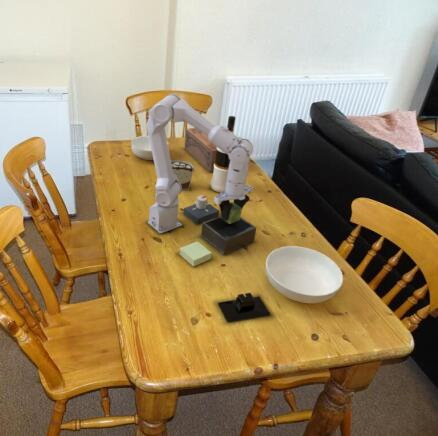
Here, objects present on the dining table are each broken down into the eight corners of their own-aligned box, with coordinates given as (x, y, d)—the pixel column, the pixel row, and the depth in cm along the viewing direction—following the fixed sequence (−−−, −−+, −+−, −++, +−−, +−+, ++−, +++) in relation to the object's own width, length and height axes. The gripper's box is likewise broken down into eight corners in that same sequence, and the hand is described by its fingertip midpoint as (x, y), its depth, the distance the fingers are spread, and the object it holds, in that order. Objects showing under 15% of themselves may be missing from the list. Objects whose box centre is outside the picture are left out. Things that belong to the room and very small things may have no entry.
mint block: (193, 266, 125) (194, 260, 124) (179, 254, 130) (180, 248, 128) (210, 259, 128) (211, 252, 127) (196, 247, 133) (197, 241, 132)
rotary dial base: (197, 224, 144) (197, 218, 142) (180, 211, 150) (181, 205, 149) (218, 216, 149) (219, 210, 147) (201, 204, 155) (202, 198, 154)
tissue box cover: (238, 167, 182) (242, 146, 176) (209, 172, 177) (212, 151, 172) (211, 145, 202) (213, 125, 196) (184, 148, 197) (186, 128, 192)
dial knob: (200, 210, 147) (201, 200, 145) (194, 205, 150) (195, 196, 147) (208, 207, 149) (209, 198, 147) (201, 202, 151) (202, 193, 149)
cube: (229, 224, 130) (231, 212, 127) (220, 217, 133) (221, 205, 130) (239, 220, 132) (242, 208, 129) (230, 213, 135) (232, 201, 132)
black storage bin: (223, 255, 130) (226, 240, 127) (200, 236, 138) (202, 222, 135) (253, 241, 137) (256, 227, 133) (229, 225, 144) (232, 211, 141)
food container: (192, 182, 169) (195, 160, 163) (192, 190, 164) (195, 167, 158) (162, 180, 170) (164, 158, 164) (161, 187, 165) (163, 165, 159)
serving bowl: (247, 271, 124) (251, 253, 120) (304, 257, 130) (310, 240, 126) (290, 321, 108) (296, 302, 104) (352, 302, 114) (360, 284, 110)
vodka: (213, 180, 171) (222, 110, 154) (235, 185, 168) (247, 114, 151) (207, 190, 164) (216, 118, 147) (230, 196, 161) (242, 122, 144)
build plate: (258, 297, 115) (262, 285, 113) (271, 316, 109) (274, 304, 107) (217, 303, 112) (219, 291, 110) (227, 323, 107) (230, 311, 104)
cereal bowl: (147, 168, 178) (148, 153, 175) (123, 155, 188) (123, 141, 185) (175, 157, 188) (176, 143, 184) (150, 146, 198) (151, 132, 194)
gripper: (227, 191, 118) (221, 229, 126) (263, 179, 125) (255, 216, 132) (211, 181, 123) (206, 218, 130) (246, 169, 130) (239, 206, 137)
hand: (230, 216), depth 132 cm, fingers closed on cube, 4 cm apart
